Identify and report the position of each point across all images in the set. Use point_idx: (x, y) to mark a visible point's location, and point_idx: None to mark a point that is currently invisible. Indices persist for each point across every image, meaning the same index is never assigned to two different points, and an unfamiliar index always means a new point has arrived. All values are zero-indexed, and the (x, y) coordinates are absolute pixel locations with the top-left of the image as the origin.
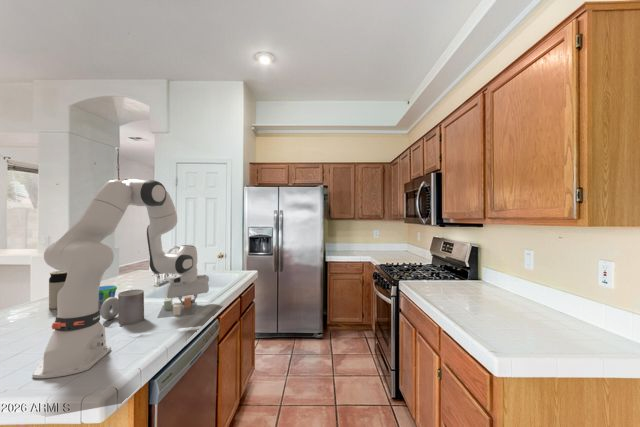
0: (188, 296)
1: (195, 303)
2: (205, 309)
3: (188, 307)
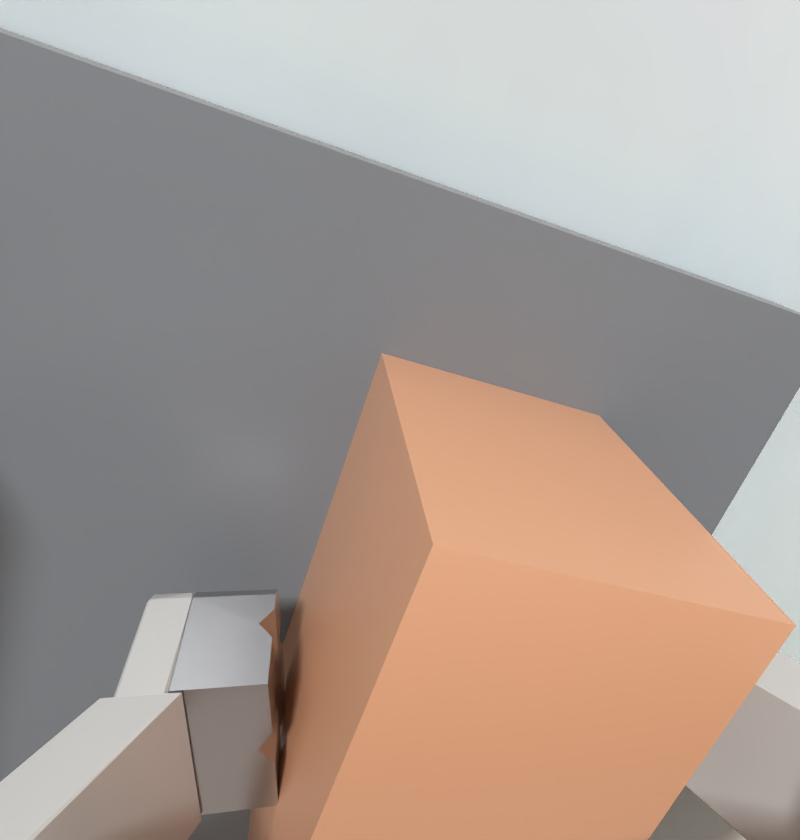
0: (626, 612)
1: (721, 455)
2: (697, 804)
3: None
